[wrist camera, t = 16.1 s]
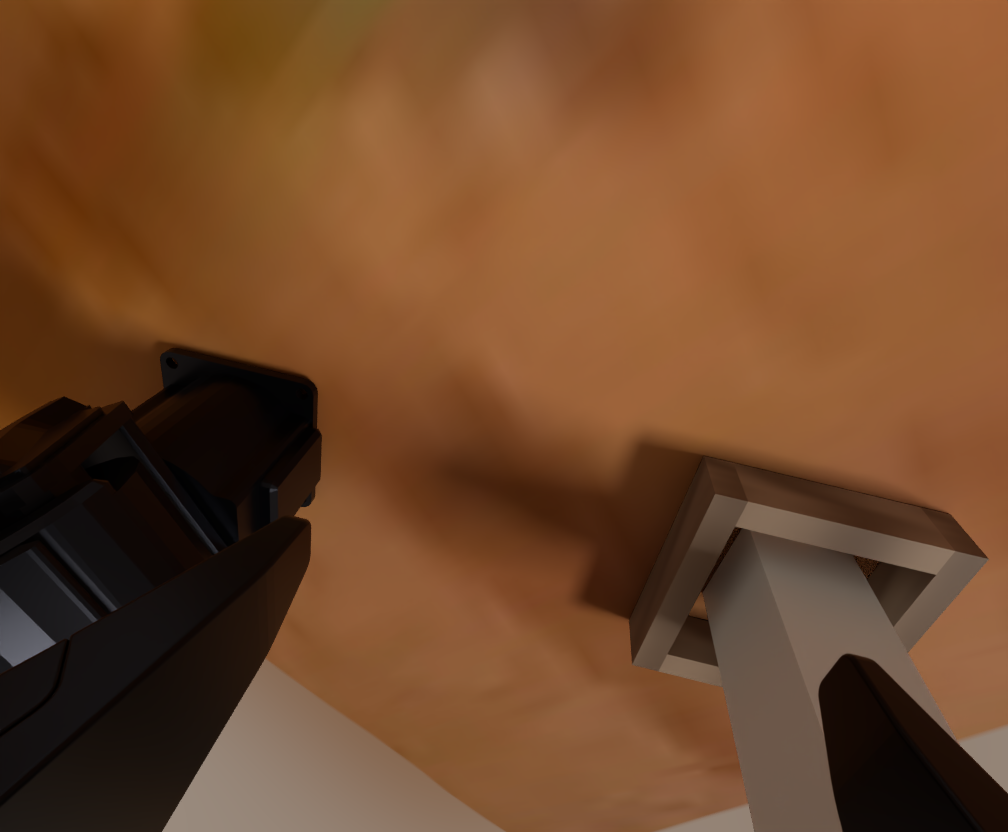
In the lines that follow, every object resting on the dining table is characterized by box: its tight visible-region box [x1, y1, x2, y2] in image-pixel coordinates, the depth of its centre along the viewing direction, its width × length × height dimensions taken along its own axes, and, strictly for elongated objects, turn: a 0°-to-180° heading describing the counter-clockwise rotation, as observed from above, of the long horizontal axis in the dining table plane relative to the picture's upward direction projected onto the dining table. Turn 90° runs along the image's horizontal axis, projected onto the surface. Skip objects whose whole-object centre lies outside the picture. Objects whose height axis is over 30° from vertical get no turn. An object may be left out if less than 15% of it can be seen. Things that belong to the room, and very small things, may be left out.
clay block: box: [703, 528, 959, 832], centre depth 20 cm, size 4×4×12 cm
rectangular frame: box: [629, 456, 989, 687], centre depth 24 cm, size 10×10×2 cm
